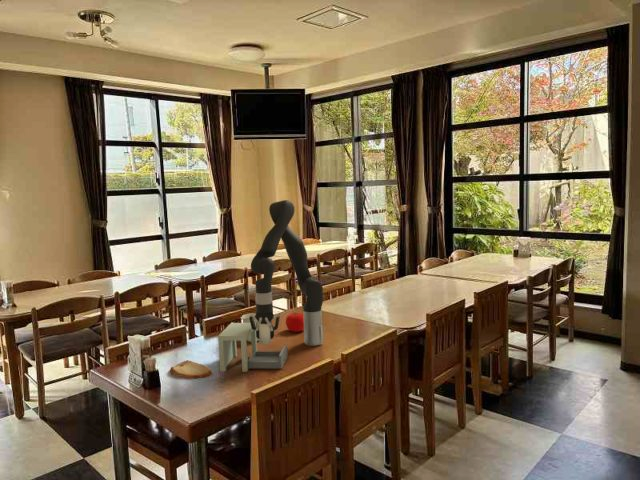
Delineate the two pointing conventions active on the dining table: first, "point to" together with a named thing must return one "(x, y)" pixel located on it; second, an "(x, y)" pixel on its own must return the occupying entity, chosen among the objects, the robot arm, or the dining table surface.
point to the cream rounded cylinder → (264, 334)
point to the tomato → (295, 322)
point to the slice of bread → (190, 370)
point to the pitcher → (247, 320)
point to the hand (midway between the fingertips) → (265, 338)
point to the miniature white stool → (229, 344)
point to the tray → (268, 359)
